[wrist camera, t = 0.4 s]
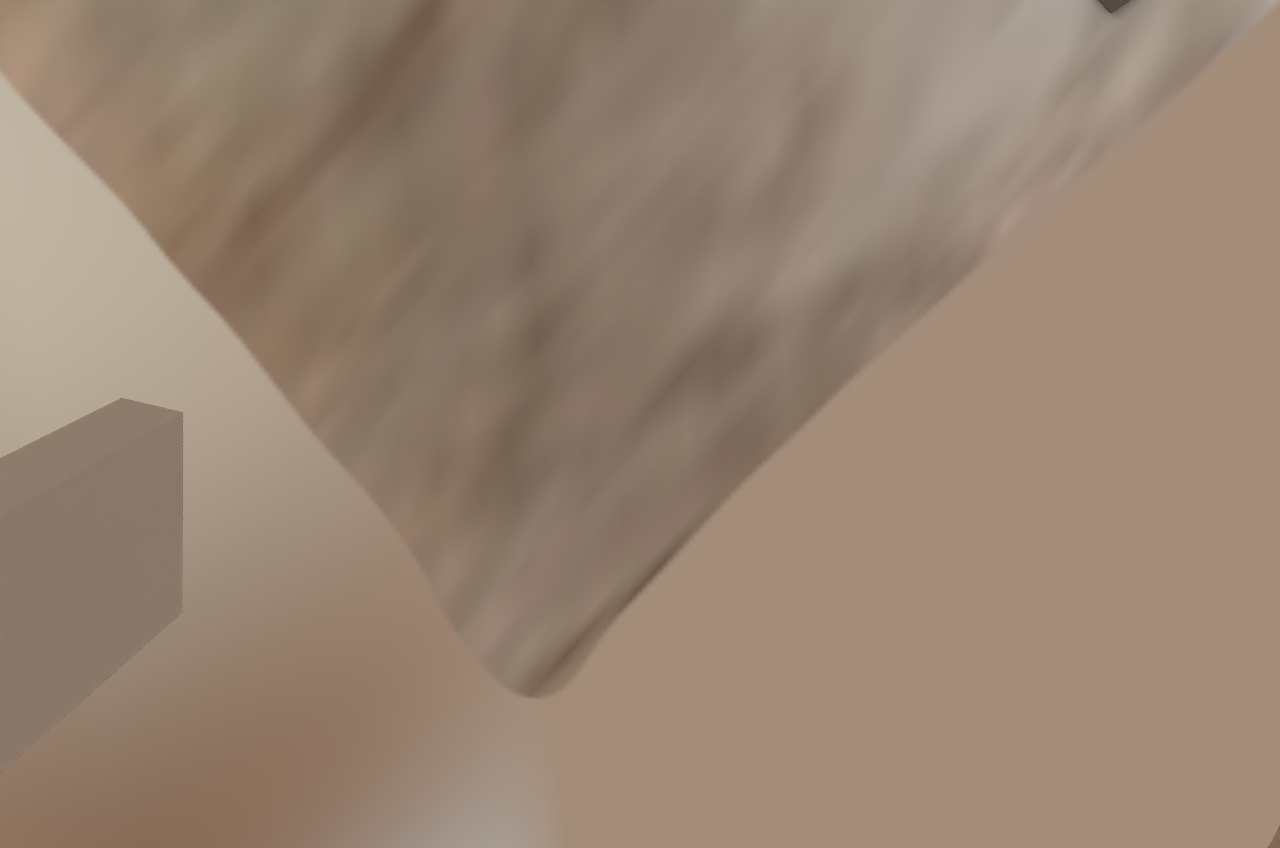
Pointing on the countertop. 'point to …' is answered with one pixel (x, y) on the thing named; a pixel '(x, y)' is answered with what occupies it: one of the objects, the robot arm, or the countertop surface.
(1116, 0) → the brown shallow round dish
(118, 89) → the countertop surface
